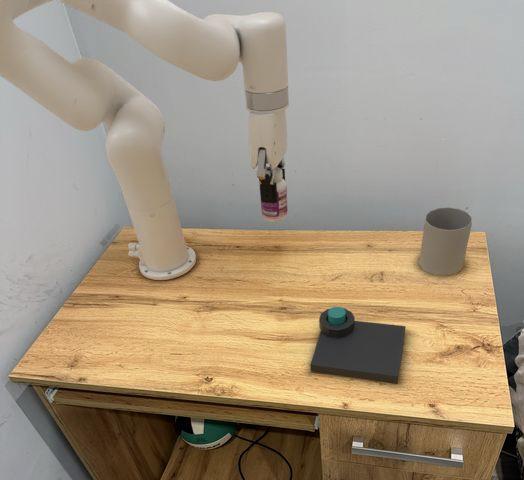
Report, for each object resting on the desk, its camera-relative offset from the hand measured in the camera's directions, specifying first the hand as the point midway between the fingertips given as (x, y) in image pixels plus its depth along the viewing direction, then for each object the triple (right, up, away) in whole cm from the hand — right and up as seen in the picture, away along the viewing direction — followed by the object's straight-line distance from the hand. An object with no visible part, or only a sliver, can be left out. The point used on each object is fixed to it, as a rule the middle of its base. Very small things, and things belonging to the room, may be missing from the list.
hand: (273, 193), depth 100 cm
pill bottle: (0, -4, +4) cm, 5 cm away
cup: (+34, -14, 0) cm, 36 cm away
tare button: (+11, -26, -13) cm, 31 cm away
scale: (+14, -32, -15) cm, 38 cm away
